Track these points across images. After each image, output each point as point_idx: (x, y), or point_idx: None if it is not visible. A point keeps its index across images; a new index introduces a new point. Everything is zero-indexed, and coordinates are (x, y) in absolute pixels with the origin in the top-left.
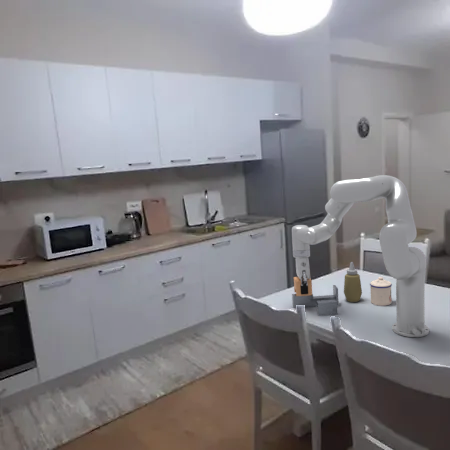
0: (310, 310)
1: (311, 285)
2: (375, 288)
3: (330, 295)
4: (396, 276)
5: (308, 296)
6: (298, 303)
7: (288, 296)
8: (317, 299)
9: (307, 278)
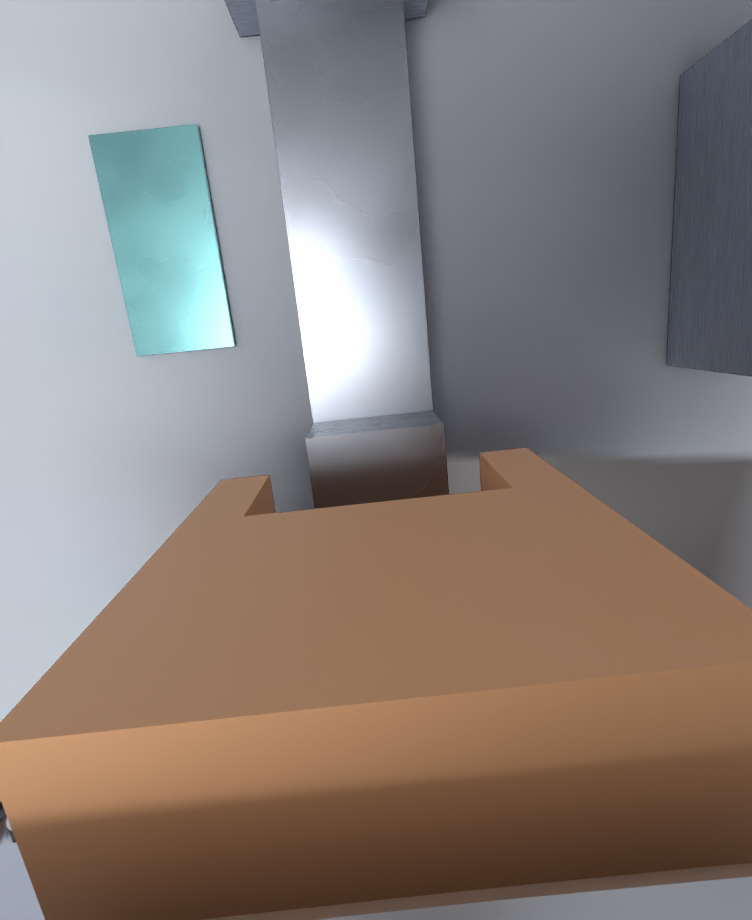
0: (556, 443)
1: (641, 543)
2: None
3: (281, 24)
4: None
5: None
6: None
7: (10, 683)
8: (423, 331)
9: (447, 828)
